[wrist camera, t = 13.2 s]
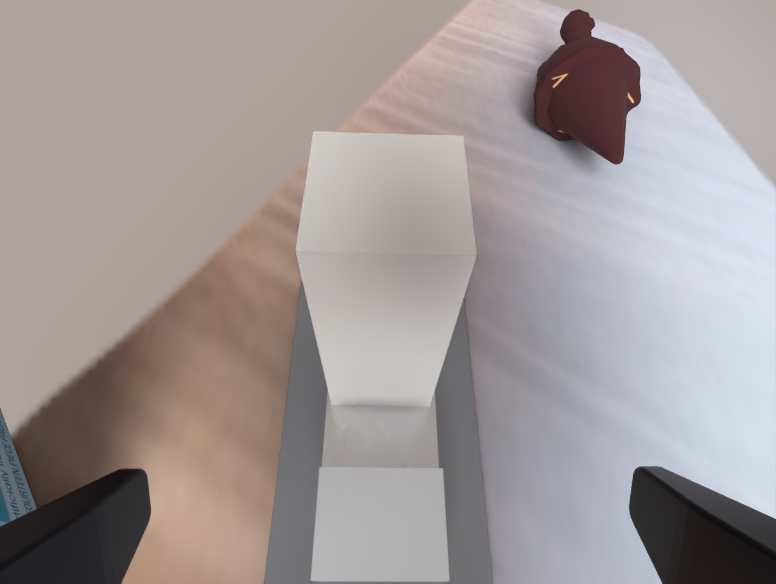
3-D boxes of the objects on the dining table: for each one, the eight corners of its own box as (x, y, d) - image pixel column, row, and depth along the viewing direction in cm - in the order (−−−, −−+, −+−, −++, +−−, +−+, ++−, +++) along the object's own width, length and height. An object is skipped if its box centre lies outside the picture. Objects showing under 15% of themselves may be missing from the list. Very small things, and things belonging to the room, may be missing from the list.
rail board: (488, 596, 19) (520, 599, 15) (268, 596, 19) (237, 598, 15) (453, 236, 29) (467, 177, 25) (311, 234, 29) (300, 174, 25)
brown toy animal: (716, 125, 26) (627, 11, 35) (602, 91, 24) (540, -19, 33) (631, 214, 31) (573, 95, 40) (534, 191, 29) (496, 73, 39)
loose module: (429, 406, 21) (476, 255, 11) (331, 404, 21) (295, 250, 11) (426, 317, 24) (462, 131, 14) (338, 315, 24) (314, 126, 14)
